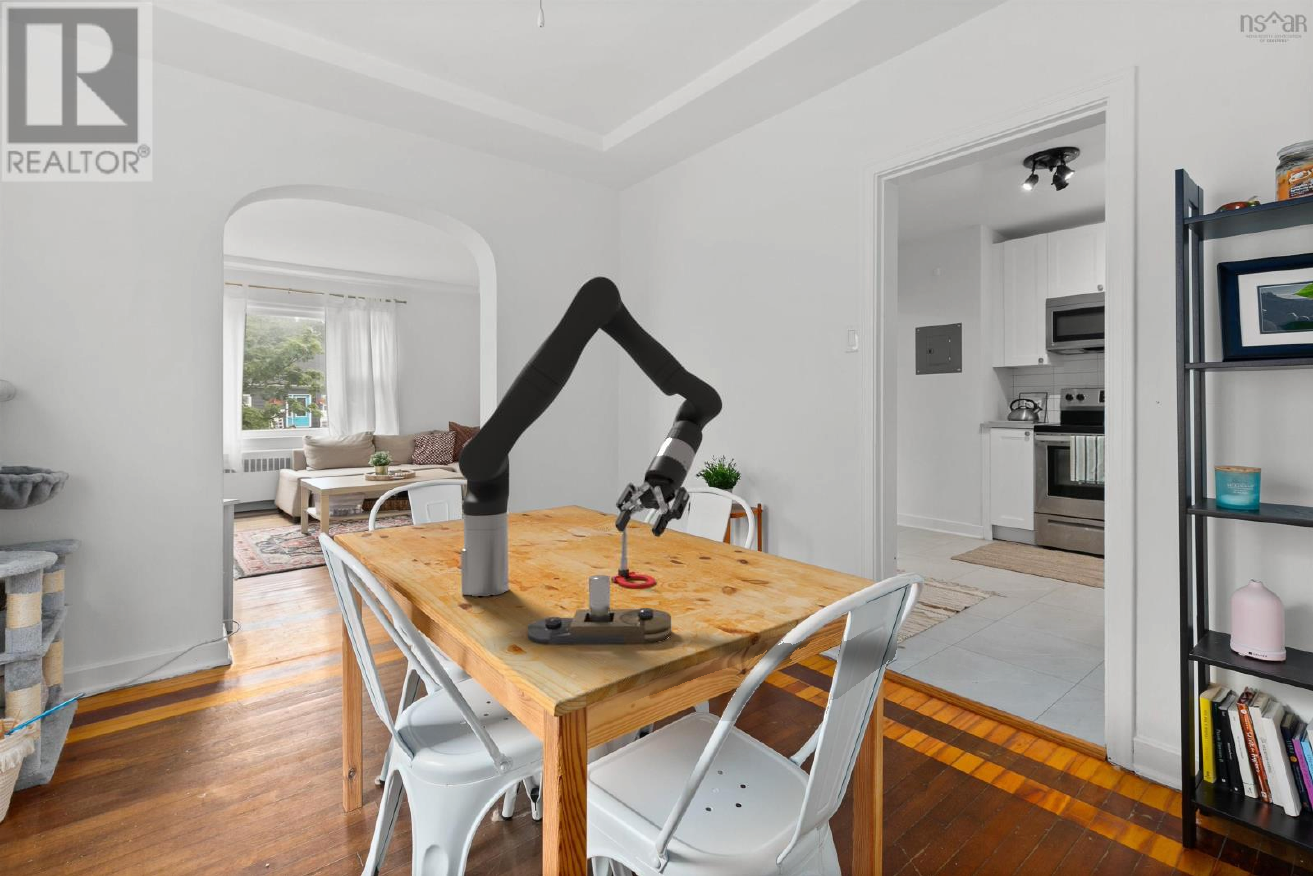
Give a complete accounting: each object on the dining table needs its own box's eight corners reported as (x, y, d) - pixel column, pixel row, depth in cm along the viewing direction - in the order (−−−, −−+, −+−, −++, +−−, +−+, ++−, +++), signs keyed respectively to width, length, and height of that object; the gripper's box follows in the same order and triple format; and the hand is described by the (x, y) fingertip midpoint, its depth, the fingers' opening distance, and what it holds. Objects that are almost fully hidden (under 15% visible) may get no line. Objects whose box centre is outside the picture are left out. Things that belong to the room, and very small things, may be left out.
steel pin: (588, 638, 108) (587, 580, 107) (590, 630, 111) (590, 575, 111) (609, 638, 108) (608, 580, 107) (610, 630, 111) (610, 575, 111)
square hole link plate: (522, 644, 105) (522, 619, 105) (533, 626, 114) (532, 603, 114) (671, 643, 105) (671, 618, 105) (670, 625, 114) (670, 602, 114)
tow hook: (662, 584, 142) (633, 576, 149) (664, 528, 141) (635, 522, 148) (636, 593, 136) (607, 583, 143) (638, 534, 135) (608, 527, 142)
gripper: (634, 452, 128) (598, 516, 120) (693, 455, 120) (659, 523, 111) (649, 476, 133) (616, 539, 124) (707, 480, 125) (676, 547, 116)
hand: (636, 531), depth 118 cm, fingers open, 8 cm apart
